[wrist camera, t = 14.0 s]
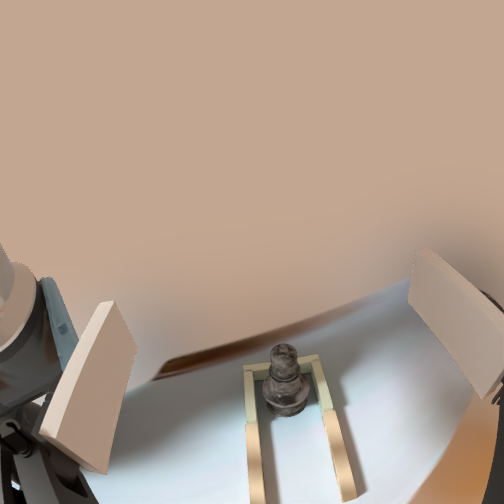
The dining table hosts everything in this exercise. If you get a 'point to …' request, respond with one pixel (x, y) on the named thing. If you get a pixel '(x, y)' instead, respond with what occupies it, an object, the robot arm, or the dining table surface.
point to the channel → (337, 455)
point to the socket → (262, 371)
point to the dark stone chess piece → (285, 383)
